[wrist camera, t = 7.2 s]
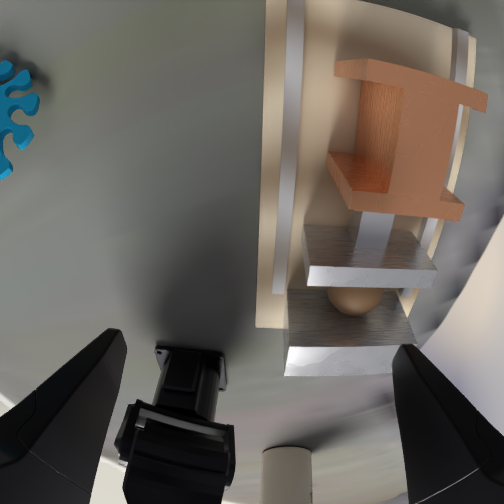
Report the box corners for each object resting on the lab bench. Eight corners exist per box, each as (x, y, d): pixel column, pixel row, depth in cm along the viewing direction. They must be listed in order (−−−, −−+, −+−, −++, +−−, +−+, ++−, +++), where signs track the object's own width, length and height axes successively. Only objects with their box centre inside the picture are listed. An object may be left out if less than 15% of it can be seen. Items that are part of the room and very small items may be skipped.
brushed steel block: (384, 320, 22) (400, 372, 18) (282, 319, 22) (284, 375, 18) (395, 291, 20) (417, 343, 16) (286, 288, 21) (289, 346, 16)
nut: (369, 281, 20) (378, 326, 18) (319, 280, 20) (323, 326, 18) (385, 245, 18) (399, 292, 15) (329, 242, 18) (337, 291, 15)
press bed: (398, 317, 23) (404, 333, 22) (255, 316, 24) (254, 333, 22) (465, 38, 11) (481, 38, 10) (266, -5, 12) (266, -13, 10)
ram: (406, 247, 18) (439, 305, 13) (301, 242, 18) (309, 305, 14) (441, 84, 12) (502, 100, 8) (316, 59, 12) (341, 53, 8)
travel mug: (256, 456, 44) (250, 549, 29) (270, 443, 39) (266, 550, 25) (299, 460, 45) (299, 549, 30) (319, 446, 40) (321, 548, 25)
